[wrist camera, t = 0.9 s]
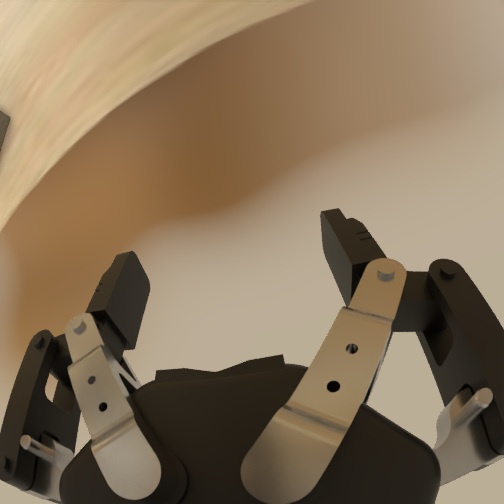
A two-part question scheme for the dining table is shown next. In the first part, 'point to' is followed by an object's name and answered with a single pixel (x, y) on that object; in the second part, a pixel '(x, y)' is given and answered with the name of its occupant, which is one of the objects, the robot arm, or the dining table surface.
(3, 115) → the box
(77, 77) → the dining table surface
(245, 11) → the dining table surface
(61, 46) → the dining table surface
